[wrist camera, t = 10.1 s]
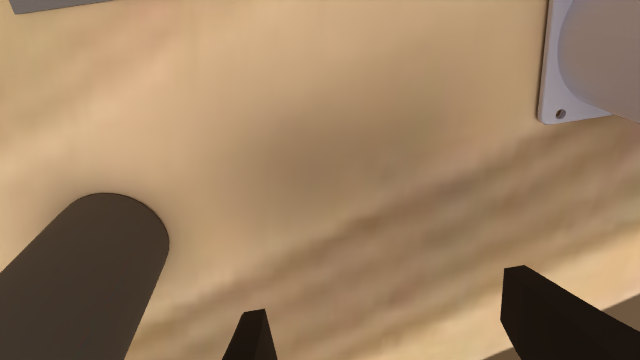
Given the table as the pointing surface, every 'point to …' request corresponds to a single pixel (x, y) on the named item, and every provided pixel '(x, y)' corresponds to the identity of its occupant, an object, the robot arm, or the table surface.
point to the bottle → (82, 282)
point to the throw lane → (46, 4)
